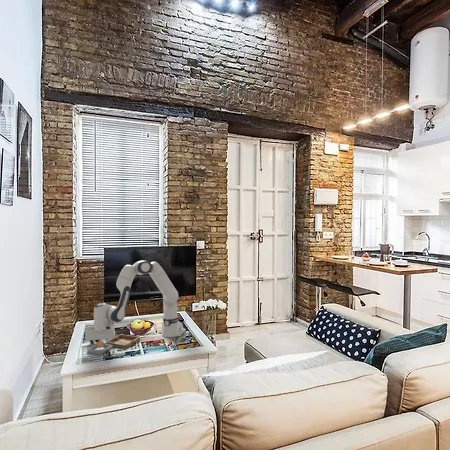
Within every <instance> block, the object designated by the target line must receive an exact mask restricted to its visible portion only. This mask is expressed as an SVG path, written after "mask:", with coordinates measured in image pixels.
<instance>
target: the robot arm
mask: <svg viewBox="0 0 450 450" xmlns="http://www.w3.org/2000/svg"><path fill="white" fill-rule="evenodd" d="M147 274H149V276H150V277H151V279H152V281H153V282H154V283H155V285H156V288H158V290H159V291H160V293H161V294H162V302H163V303H162V305H163V317H162V323H161V331H160V334H161V336H162V337H164V338H177V337H181V336H182V335H183V334H184V332H185V331H186V328H184V326H183V323H182V322H181V321H179V319H180V318H181V316H179V315H178V303H177V302H178V299H179V291H178V290H177V289H176V288H175V286H174V284H173V283H172V281H171V280H170V278H169V276H168V275H167V273H166V272H165V269H164V268H163V267H162V266H161V265H160V263H158V262H157V261H151V262H150V261H147V260H146V259H145V260H144V259H143V260H139V261H136V262H134V263H133V264H132V265H131V264H126V265H124V266H123V268H122V269H121V271H120V273H119V275H118V277H117V279H116V284H115V285H116V288H117V290H119V292H120V297H119V300H118V303H117V306H115V305H111V304H108V303H106V302H100V303H97V304H96V305H95V306H94V308H93V326H87V327H85V330H84V333H85V336H84V339H85V341H90V340H93V342H94V343H93V344H94V345H93V346H97V343H96V342H95V340H101V341H102V340H105V341H103V342H104V345H106V342H107V341H108V340H110V339H114V338H115V337H116V331H115V327H114V328H113V324H112V323H108V322H107V319H110V320H113V321H114V323H120V322H122V321H123V320H124V319H125V317H126V312H127V306H128V303H129V300H130V296H131V292H132V291H131V287H132V283H133V281H134V278H135V277H136V275H138V276H141V275H142V276H143V275H147Z"/></svg>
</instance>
